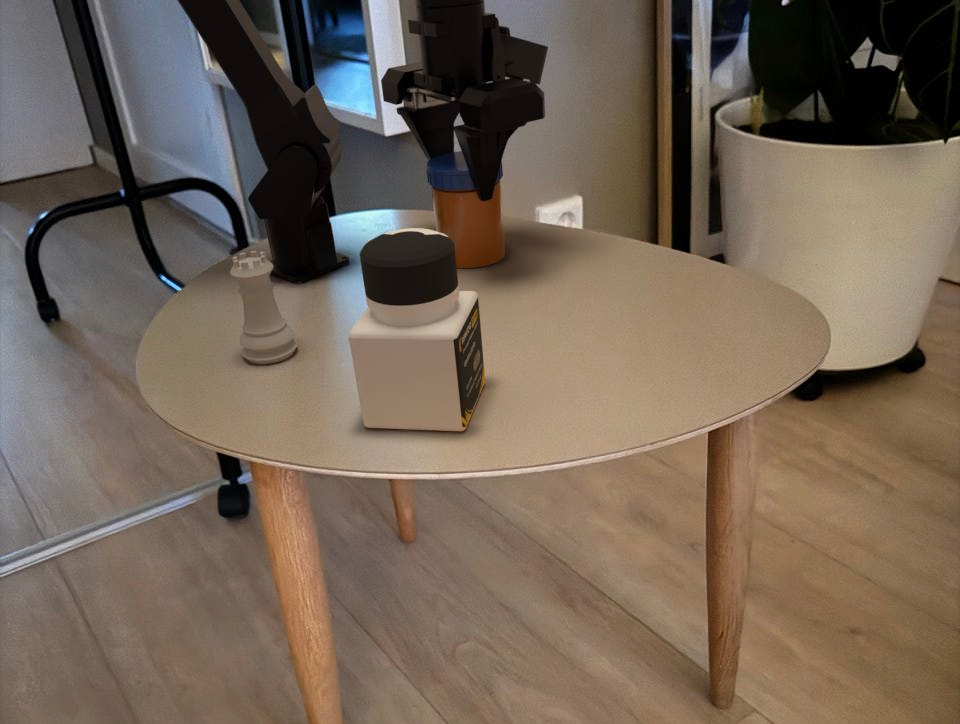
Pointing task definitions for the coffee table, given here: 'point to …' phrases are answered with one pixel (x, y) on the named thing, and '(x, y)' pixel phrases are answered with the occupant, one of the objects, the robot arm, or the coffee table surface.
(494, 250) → the jar
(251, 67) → the robot arm
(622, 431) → the coffee table surface
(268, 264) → the rook chess piece
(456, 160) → the lid
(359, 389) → the medicine bottle
